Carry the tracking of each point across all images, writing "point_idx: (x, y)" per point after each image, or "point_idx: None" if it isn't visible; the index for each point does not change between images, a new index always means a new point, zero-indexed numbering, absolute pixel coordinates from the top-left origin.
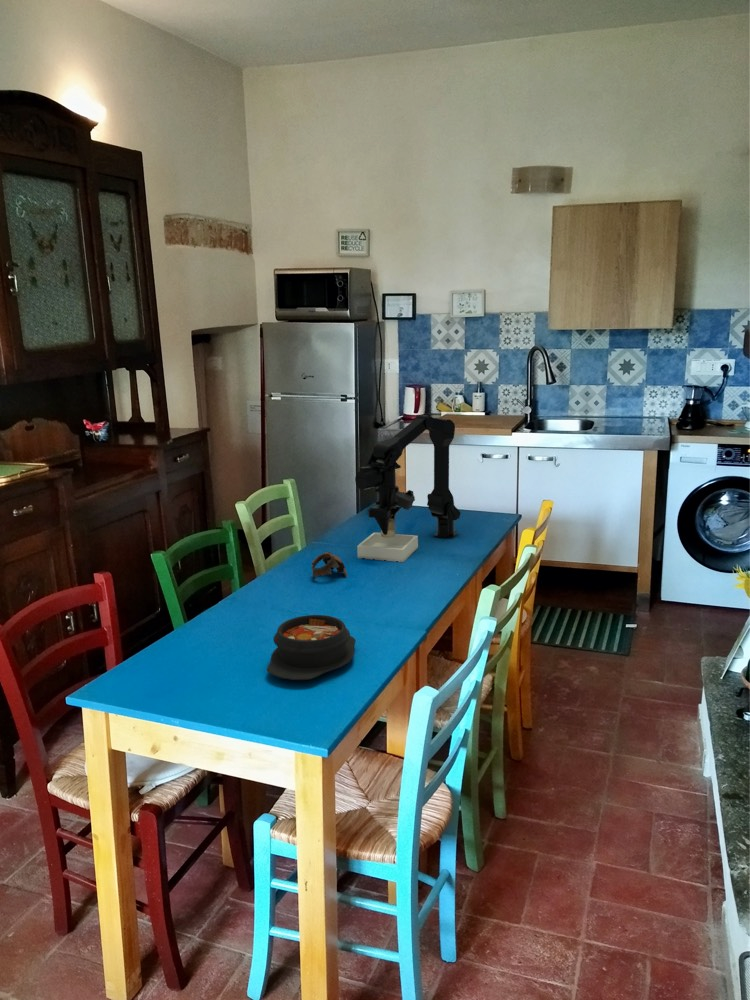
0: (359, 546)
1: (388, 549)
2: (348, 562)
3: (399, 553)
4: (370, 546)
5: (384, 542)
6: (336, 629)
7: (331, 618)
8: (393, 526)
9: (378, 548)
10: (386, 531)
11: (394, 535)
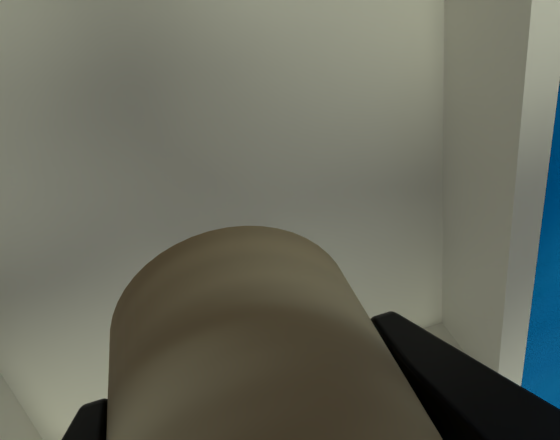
0: (518, 382)
1: (550, 64)
2: (555, 308)
3: None
4: (516, 302)
5: (2, 386)
6: None
7: None
8: (307, 375)
9: (536, 201)
10: (440, 348)
11: (225, 236)
